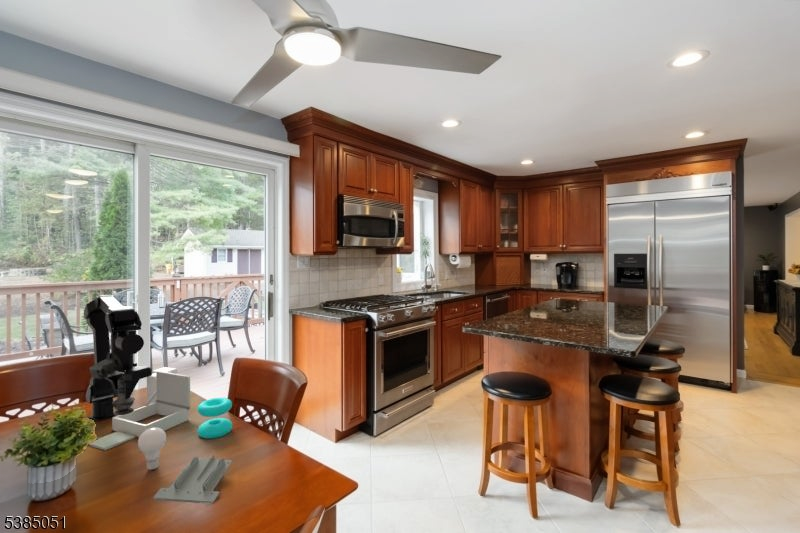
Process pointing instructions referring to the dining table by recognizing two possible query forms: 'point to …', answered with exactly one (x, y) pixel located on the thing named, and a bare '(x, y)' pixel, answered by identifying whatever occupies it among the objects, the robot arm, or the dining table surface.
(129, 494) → the dining table surface
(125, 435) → the coaster
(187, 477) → the metal bracket
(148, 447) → the lightbulb
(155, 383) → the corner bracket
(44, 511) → the dining table surface
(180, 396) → the case
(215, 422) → the donuts
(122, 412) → the dark grey chess piece
